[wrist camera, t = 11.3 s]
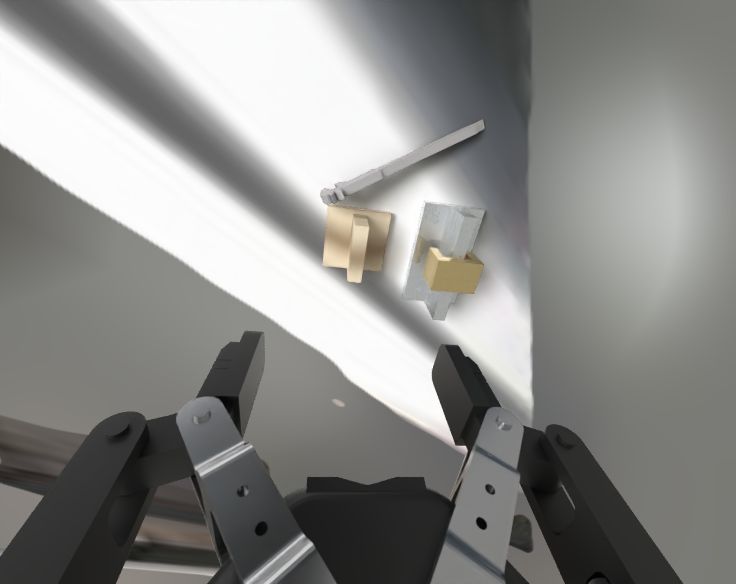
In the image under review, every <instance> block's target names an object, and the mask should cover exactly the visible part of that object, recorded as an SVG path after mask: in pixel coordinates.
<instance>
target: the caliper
mask: <svg viewBox="0 0 736 584" xmlns="http://www.w3.org/2000/svg"><path fill="white" fill-rule="evenodd" d="M483 129H485V127H484V122H483V120H480V121H478V122H476V123H474V124H471V125H469V126H467V127H464V128H462V129H460V130H458V131H455V132H453V133H451V134H449V135H447V136H445V137H443V138H441V139H438V140H436V141H434V142H432V143H430V144H428V145H426V146H424V147H422V148H419V149H417V150H415V151H413V152H411V153H409V154H407V155H405V156H402V157H400V158H398V159H396V160H394V161H392V162H390V163H388V164H385V165H383V166H381V167H379V168H377V169H372V170H370V171H368V172H366V173H364V174H362V175H360V176H358V177H356V178H354V179H352V180H350V181H346V182H339V183H336V184H335V186H336V188H335V189H332V190H328V189H323V190H321V193H320V196H321V198H322V200H323V202H324V203H325V204H327V205H329V204H331V203H334V204H335V203H336V202H337V200H343V199H345V197H344V196H348V195H350V194H352V193H354V192H356V191H359V190H361V189H363V188H365V187H367V186H369V185H371V184H373V183H375V182H377V181H379V180H382V179H383V178H384V177H386V176H388V175H390V174H393V173H395V172H397V171H399V170H401V169H403V168H405V167H407V166H409V165H412V164H414V163H416V162H418V161H420V160H422V159H424V158H426V157H428V156H431V155H433V154H435V153H437V152H439V151H441V150H443V149H445V148H447V147H450V146H452V145H454V144H456V143H458V142H460V141H462V140H464V139H466V138H469V137H471V136H473V135H475V134H477V133H478V132H479V131H481V130H483Z"/></svg>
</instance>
